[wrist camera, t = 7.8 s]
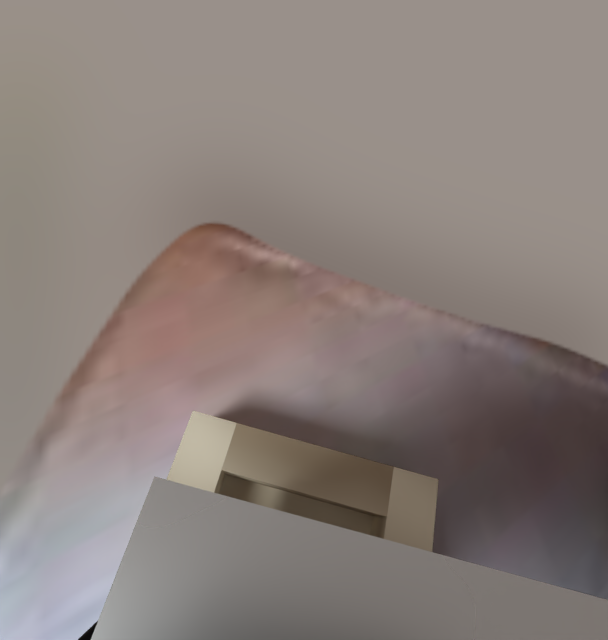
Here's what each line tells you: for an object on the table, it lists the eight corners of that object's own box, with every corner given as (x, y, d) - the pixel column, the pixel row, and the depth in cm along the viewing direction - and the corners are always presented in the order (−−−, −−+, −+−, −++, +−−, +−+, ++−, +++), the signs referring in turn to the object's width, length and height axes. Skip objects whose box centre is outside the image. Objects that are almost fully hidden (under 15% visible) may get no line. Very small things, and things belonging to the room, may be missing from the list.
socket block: (376, 787, 14) (405, 855, 11) (100, 706, 14) (61, 752, 11) (411, 484, 18) (438, 479, 15) (202, 425, 18) (192, 410, 16)
